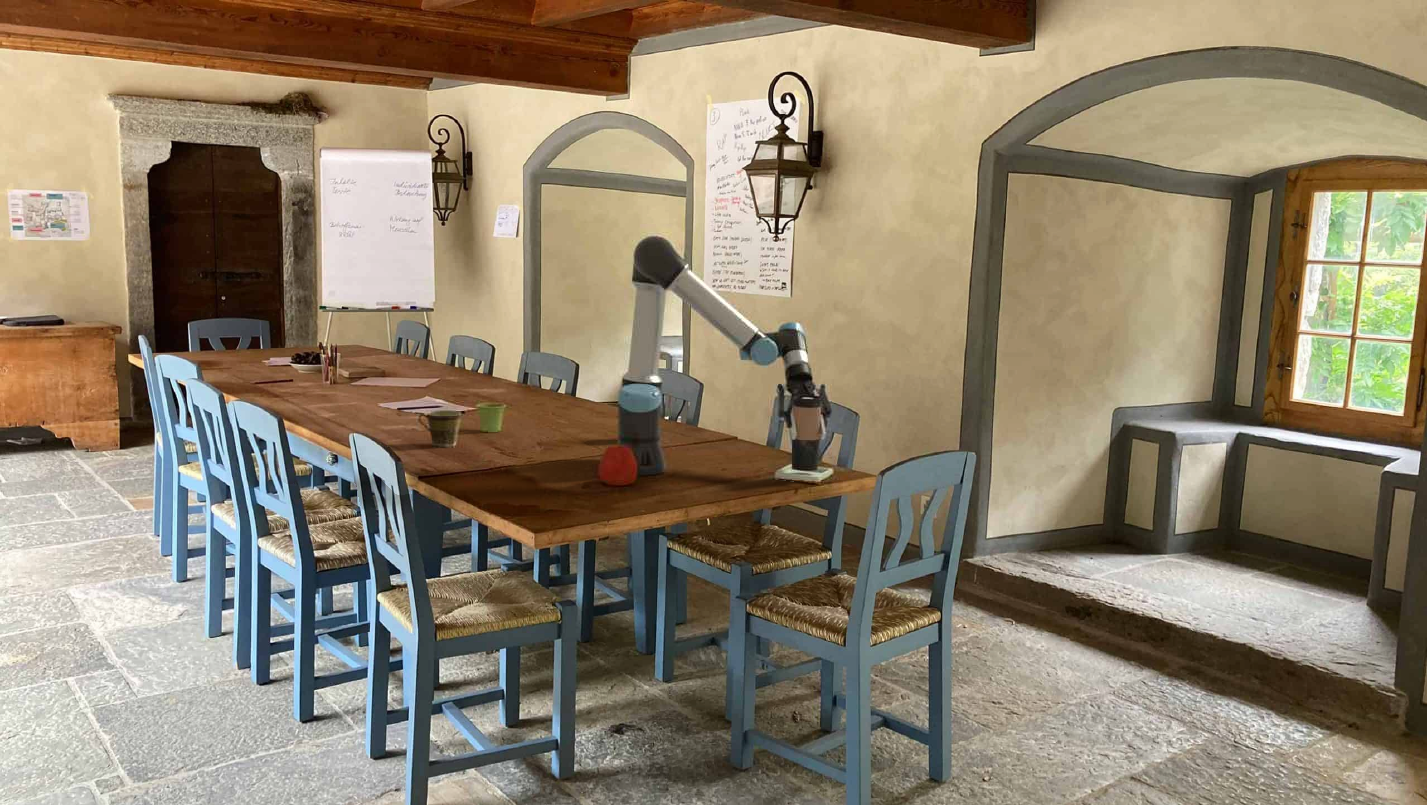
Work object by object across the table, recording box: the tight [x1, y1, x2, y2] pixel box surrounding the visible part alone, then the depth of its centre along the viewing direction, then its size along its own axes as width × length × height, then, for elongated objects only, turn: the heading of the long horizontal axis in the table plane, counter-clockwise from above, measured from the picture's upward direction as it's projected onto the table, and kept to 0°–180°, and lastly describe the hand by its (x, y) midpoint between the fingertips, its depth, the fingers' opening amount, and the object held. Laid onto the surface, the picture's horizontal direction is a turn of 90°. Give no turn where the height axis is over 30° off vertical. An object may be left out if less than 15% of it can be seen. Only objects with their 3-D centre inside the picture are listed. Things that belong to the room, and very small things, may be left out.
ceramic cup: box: [418, 410, 462, 448], centre depth 335 cm, size 13×10×10 cm
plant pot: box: [476, 402, 507, 433], centre depth 360 cm, size 9×9×9 cm
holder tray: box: [774, 463, 834, 482], centre depth 305 cm, size 12×12×2 cm
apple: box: [598, 444, 638, 487], centre depth 291 cm, size 10×10×10 cm
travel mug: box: [791, 395, 822, 471], centre depth 303 cm, size 8×8×20 cm
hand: (809, 436), depth 300 cm, fingers closed on travel mug, 7 cm apart
